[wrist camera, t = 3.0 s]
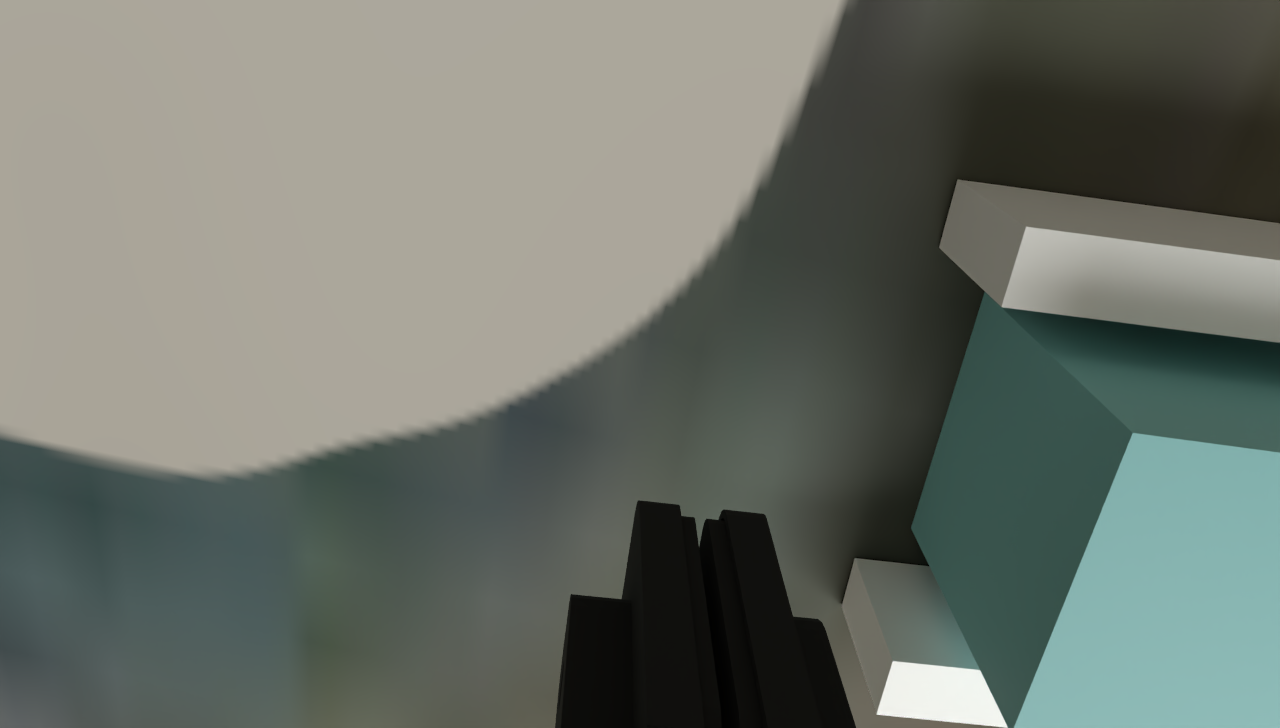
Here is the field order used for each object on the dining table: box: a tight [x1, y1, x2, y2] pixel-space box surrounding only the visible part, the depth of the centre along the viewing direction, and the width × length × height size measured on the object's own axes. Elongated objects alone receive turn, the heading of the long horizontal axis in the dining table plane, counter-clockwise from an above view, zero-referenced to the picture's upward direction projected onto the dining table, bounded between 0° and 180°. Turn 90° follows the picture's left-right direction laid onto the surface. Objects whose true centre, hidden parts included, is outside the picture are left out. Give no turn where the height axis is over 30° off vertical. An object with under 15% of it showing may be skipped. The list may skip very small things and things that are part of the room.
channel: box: [842, 179, 1280, 728], centre depth 17 cm, size 9×12×3 cm
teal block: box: [911, 292, 1280, 728], centre depth 15 cm, size 5×8×6 cm, turn 81°
